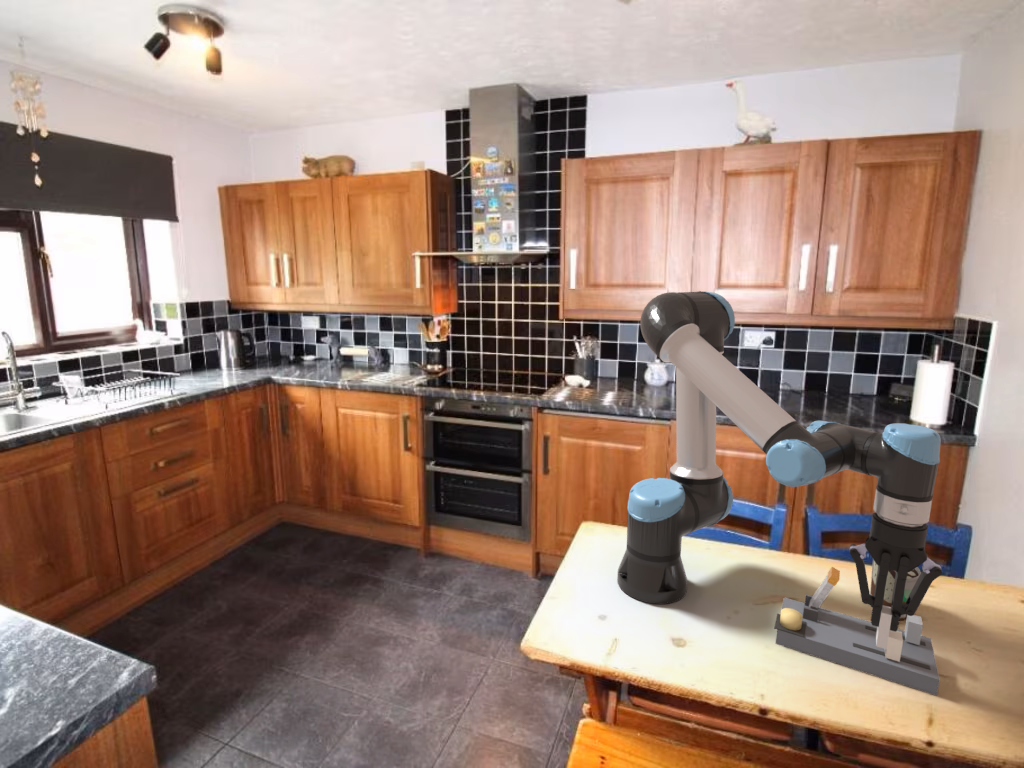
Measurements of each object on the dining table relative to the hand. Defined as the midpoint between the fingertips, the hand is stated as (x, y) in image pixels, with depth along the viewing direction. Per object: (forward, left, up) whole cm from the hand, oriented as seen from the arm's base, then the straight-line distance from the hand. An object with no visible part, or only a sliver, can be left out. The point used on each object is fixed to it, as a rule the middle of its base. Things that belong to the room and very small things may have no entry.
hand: (881, 643), depth 92 cm
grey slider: (+5, +7, -2) cm, 9 cm away
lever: (-11, +7, -1) cm, 13 cm away
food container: (+4, +23, -5) cm, 23 cm away
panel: (-4, +4, -5) cm, 7 cm away
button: (-14, 0, -2) cm, 14 cm away
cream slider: (+2, 0, -2) cm, 3 cm away
